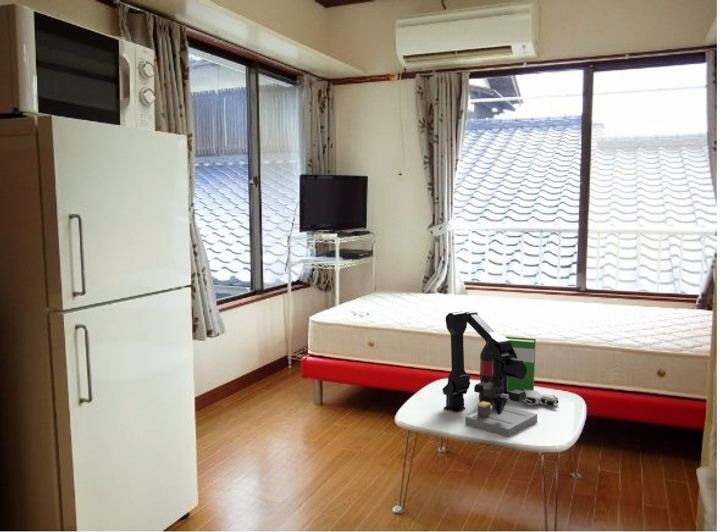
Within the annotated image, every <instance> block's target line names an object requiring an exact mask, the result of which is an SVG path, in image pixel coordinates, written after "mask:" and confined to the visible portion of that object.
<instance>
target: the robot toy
mask: <svg viewBox="0 0 720 532" xmlns="http://www.w3.org/2000/svg"><path fill="white" fill-rule="evenodd" d="M524 390H525V393H526V399H525V400H523V401H522V402H524V403H526V404H527V405H528V406H534V405H539V404H542V405H544V406H547V407H558V405H559V397H558V396H556V395H554V394H546V393H543V394H542V393H541V392H539V391H537V390H534V391H533V390H526V389H524Z"/></svg>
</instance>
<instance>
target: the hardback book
mask: <svg viewBox="0 0 720 532" xmlns="http://www.w3.org/2000/svg"><path fill="white" fill-rule="evenodd" d="M503 336H504V337H505V338H507V339H508V340H510V342H511V344H512V347H513V349H514V351H515V353H516V355H517V359H518V360H523V364H525V366H526V368H527V374H526V376H525V377H524V378H523V379H521V380H520V379H516V378H513V377H510V378H509V379H508V386H510V389H508V391H514V390H521V391H525V390H524V389H526V390H533V391H535V369H536V368H535V365H536V363H535V362H536V344H537V343H536V341H537V340H536V338H533V337H532V338H531V337H530V338H529V337H519V336H505V335H503ZM505 355H509V354H505ZM505 355H502V356H505Z"/></svg>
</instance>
